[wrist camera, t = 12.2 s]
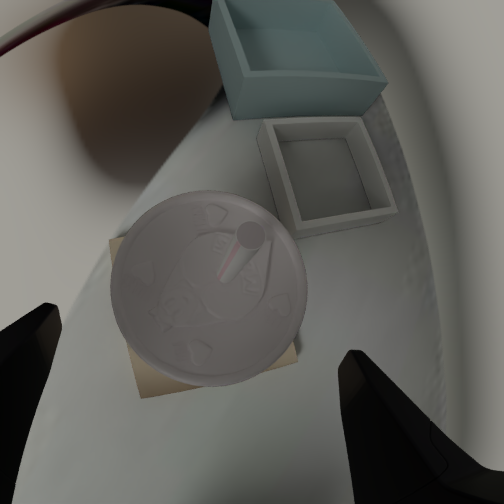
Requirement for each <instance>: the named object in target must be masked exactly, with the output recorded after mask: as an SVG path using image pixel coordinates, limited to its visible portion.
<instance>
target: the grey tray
mask: <svg viewBox="0 0 504 504" xmlns="http://www.w3.org/2000/svg"><path fill="white" fill-rule="evenodd" d="M332 138H345V139H346V142H347V144H348V147H349V149H350V152H351V154H352V157H353V159H354V162H355V165H356V167H357V170H358V173H359V175H360V178H361V181H362V184H363V186H364V189H365V192H366V195H367V198H368V201H369V204H370V207H371V210H367V211H360V212H354V213H348V214H342V215H336V216H330V217H324V218H318V219H313V220H307V221H302V219H301V216H300V212H299V209H298V205H297V202H296V199H295V195H294V192H293V189H292V185H291V182H290V179H289V176H288V172H287V169H286V166H285V163H284V159H283V156H282V153H281V150H280V147H279V144H278V142H283V141H297V140H312V139H332ZM256 139H257V142H258V146H259V149H260V152H261V156H262V159H263V163H264V166H265V170H266V173H267V177H268V180H269V184H270V187H271V191H272V194H273V198H274V202H275V205H276V209H277V213H278V216H279V220H280V222H281V223H282V224H283V226H284V227H285V228H286V229H287V231H288V232H289V233H290V235H291V236H292V238H293V239H298V238H304V237H309V236H314V235H319V234H324V233H330V232H335V231H340V230H345V229H350V228H356V227H361V226H366V225H371V224H377V223H381V222H383V221H385V220H386V219H388V218H390V217H391V216H393V215H395V214H396V213H398V209H397V206H396V203H395V200H394V197H393V195H392V192H391V189H390V186H389V184H388V181H387V178H386V176H385V173H384V170H383V168H382V165H381V163H380V160H379V158H378V155H377V153H376V150H375V148H374V146H373V143H372V141H371V139H370V136H369V134H368V132H367V129H366V127H365V125H364V123H363V121H362V118H361V117H300V118H279V119H264V120H263V122H262V125H261V127H260V130H259V133H258V135H257V138H256Z"/></svg>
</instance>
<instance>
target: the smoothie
mask: <svg viewBox="0 0 504 504" xmlns="http://www.w3.org/2000/svg"><path fill="white" fill-rule="evenodd" d="M110 288H111V301H112V307H113V311H114V315H115V318H116V321H117V324H118V326H119V328H120V330H121V333H122V334H123V336H124V338H125V339H126V341H127V343H128V344H129V345H130V347H131V348H132V349H133V351H134V352H135V353H136V354H137V355H138V356H139V357H140V358H141V359H142V360H143V361H144V362H145V363H146V364H148V365H149V366H150V367H152V368H153V369H154V370H156V371H157V372H159V373H161V374H163V375H164V376H166V377H169V378H171V379H173V380H176V381H179V382H182V383H185V384H190V385H195V386H204V387H217V386H226V385H231V384H235V383H239V382H242V381H245V380H247V379H250V378H252V377H254V376H256V375H258V374H259V373H261V372H263V371H264V370H266V369H267V368H269V367H270V366H271V365H272V364H274V363H275V362H276V361H277V360H278V359H279V358H280V357H281V356H282V355H283V354H284V353H285V351H286V350H287V349H288V348H289V346H290V345H291V343H292V342H293V340H294V338H295V337H296V335H297V333H298V331H299V329H300V326H301V323H302V321H303V317H304V314H305V310H306V304H307V277H306V271H305V266H304V263H303V259H302V256H301V254H300V251H299V249H298V247H297V245H296V243H295V241H294V240H293V238H292V236H291V235H290V233H289V232H288V231H287V229H286V228H285V227H284V226H283V224H282V223H281V222H280V221H279V220H278V219H277V218H276V217H275V216H273V215H272V214H271V213H270V212H269V211H267V210H266V209H264V208H263V207H262V206H260V205H258V204H256V203H255V202H253V201H251V200H249V199H246V198H244V197H241V196H238V195H235V194H231V193H227V192H221V191H194V192H188V193H184V194H180V195H177V196H174V197H171V198H169V199H167V200H164V201H163V202H161V203H159V204H157V205H155V206H154V207H153V208H151V209H150V210H148V211H147V212H146V213H145V214H144V215H142V216H141V217H140V218H139V219H138V220H137V221H136V222H135V223H134V225H133V226H132V227H131V228H130V230H129V231H128V232H127V234H126V235H125V237H124V239H123V240H122V242H121V244H120V246H119V249H118V251H117V254H116V256H115V260H114V263H113V267H112V273H111V285H110Z"/></svg>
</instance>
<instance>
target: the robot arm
mask: <svg viewBox="0 0 504 504" xmlns="http://www.w3.org/2000/svg"><path fill="white" fill-rule="evenodd" d="M61 331H62V323H61V319H60V315H59V310H58V307H57V305H54V304H51V303H43V304H42V305H40V306H39V307H37V308H35V309H34V310H32V311H31V312H29V313H28V314H26V315H24V316H23V317H21V318H20V319H18V320H17V321H15V322H14V323H12V324H11V325H9V326H8V327H6V328H5V329H3V330H2V331H0V504H12V499H13V494H14V490H15V485H16V484H15V483H16V480H17V476H18V471H19V467H20V463H21V459H22V456H23V452H24V448H25V445H26V441H27V438H28V435H29V431H30V428H31V425H32V422H33V419H34V415H35V412H36V409H37V406H38V404H39V401H40V398H41V395H42V392H43V389H44V387H45V384H46V381H47V379H48V376H49V373H50V370H51V366H52V362H53V359H54V355H55V351H56V348H57V344H58V341H59V338H60V334H61ZM338 381H339V395H340V409H341V417H342V423H343V429H344V435H345V441H346V447H347V454H348V460H349V466H350V473H351V480H352V487H353V494H354V502H355V504H504V471H496V470H490V469H488V468H485V467H483V466H481V465H480V464H479V463H478V462H476V461H475V460H474V459H473V458H472V457H470V456H469V455H468V454H467V453H466V452H464V451H463V450H462V449H461V448H459V446H457V445H456V444H455V443H454V442H453V441H452V440H450V439H449V438H448V437H447V436H446V435H445V434H444V433H443V432H442V431H441V430H440V429H439V428H438V427H437V426H436V425H435V424H434V423H433V422H432V421H430V419H429V418H428V417H427V416H426V415H425V414H424V413H423V412H422V411H421V410H420V409H419V408H418V407H417V406H416V405H415V404H414V403H413V402H412V401H411V400H410V398H409V397H408V396H407V395H406V394H405V393H404V392H403V391H402V390H401V389H400V388H399V387H398V386H397V385H396V384H395V383H394V382H393V381H392V380H391V379H390V378H389V377H388V376H387V375H386V374H385V373H384V372H383V371H382V370H381V369H380V368H379V367H378V366H377V365H376V364H375V363H374V362H373V361H372V360H371V359H370V358H369V357H368V356H367V355H366V354H365V353H364V352H363V351H361V350H349V351H348V352H347V354H346V356H345V357H344V359H343V360H342V362H341V364H340V365H339V368H338Z"/></svg>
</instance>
